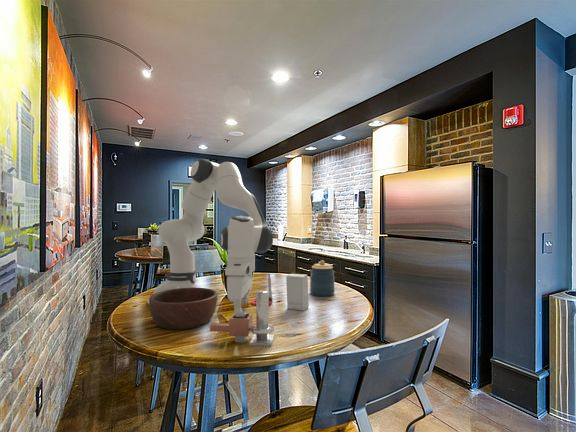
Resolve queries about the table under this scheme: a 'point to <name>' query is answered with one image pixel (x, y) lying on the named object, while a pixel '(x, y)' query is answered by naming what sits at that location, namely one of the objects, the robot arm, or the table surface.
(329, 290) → the canister
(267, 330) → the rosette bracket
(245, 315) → the wedge pin
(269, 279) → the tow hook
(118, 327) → the table surface
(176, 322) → the wooden bowl
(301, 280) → the skincare box
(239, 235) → the robot arm
